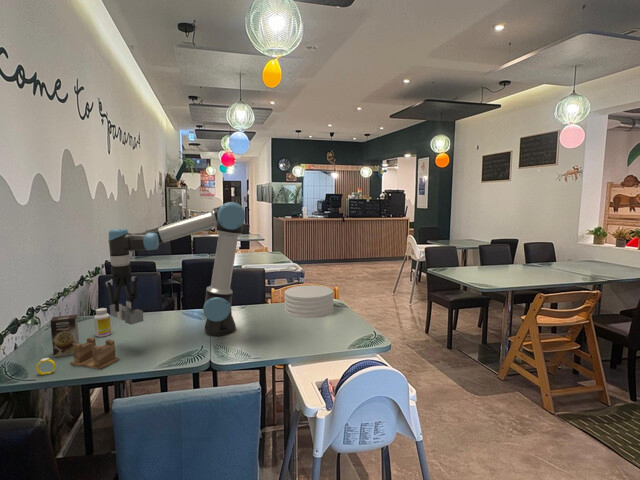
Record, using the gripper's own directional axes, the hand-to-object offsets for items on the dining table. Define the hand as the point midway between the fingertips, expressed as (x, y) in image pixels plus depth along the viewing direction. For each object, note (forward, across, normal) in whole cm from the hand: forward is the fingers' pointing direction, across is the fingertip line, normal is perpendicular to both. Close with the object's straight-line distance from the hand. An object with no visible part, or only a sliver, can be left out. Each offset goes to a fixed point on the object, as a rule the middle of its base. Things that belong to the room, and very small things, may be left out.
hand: (124, 317), depth 171 cm
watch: (+15, +30, -2) cm, 34 cm away
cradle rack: (+14, +15, +3) cm, 21 cm away
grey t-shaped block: (+1, 0, 0) cm, 1 cm away
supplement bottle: (+15, -2, -27) cm, 31 cm away
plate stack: (+15, -91, +31) cm, 97 cm away
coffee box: (+15, +18, -17) cm, 29 cm away
